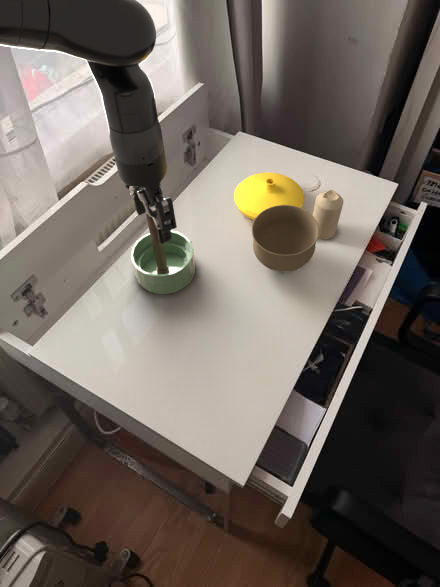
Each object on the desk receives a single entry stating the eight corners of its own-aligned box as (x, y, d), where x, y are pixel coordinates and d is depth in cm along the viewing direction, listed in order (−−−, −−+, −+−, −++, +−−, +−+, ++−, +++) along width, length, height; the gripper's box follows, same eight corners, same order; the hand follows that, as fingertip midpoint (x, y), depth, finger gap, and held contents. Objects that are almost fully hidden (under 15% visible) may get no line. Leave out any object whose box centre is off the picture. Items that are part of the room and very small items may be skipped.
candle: (314, 218, 97) (322, 182, 89) (338, 226, 95) (348, 190, 87) (306, 235, 94) (313, 199, 86) (330, 242, 92) (340, 207, 84)
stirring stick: (160, 279, 87) (148, 218, 74) (155, 271, 88) (141, 210, 75) (171, 273, 88) (160, 212, 74) (165, 266, 89) (154, 204, 76)
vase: (234, 183, 105) (234, 158, 99) (300, 183, 104) (304, 159, 98) (233, 229, 95) (233, 205, 90) (305, 231, 95) (310, 206, 89)
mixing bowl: (153, 305, 84) (148, 286, 79) (126, 265, 90) (120, 245, 85) (206, 277, 87) (204, 258, 82) (176, 241, 93) (173, 221, 89)
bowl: (237, 267, 89) (238, 232, 81) (272, 231, 95) (275, 195, 87) (290, 296, 84) (296, 262, 76) (323, 256, 90) (332, 221, 82)
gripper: (95, 132, 67) (117, 211, 80) (137, 182, 59) (154, 260, 72) (139, 117, 69) (153, 196, 82) (184, 162, 62) (192, 241, 75)
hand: (153, 226), depth 77 cm, fingers open, 8 cm apart
